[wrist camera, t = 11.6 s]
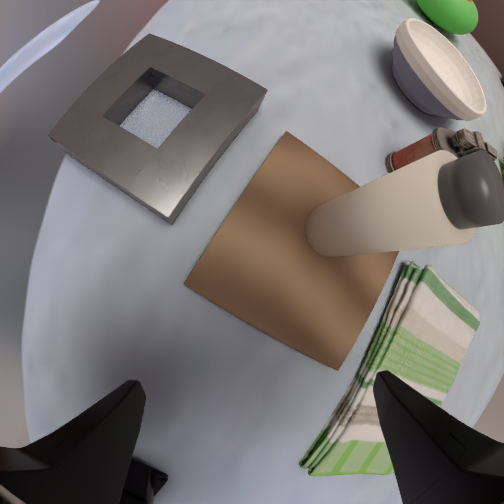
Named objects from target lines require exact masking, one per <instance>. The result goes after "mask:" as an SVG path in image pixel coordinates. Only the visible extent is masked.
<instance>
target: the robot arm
mask: <svg viewBox="0 0 504 504" xmlns="http://www.w3.org/2000/svg"><path fill="white" fill-rule="evenodd" d="M373 394H374V399H375V403H376V408H377V413H378V418H379V423H380V427H381V430H382V433H383V436H384V439H385V442H386V446H387V449H388V452H389V455H390V459H391V462H392V465H393V469H394V472H395V476H396V479H397V483H398V487H399V491H400V494H401V498H402V502H403V504H504V443H501V442H498V441H496V440H494V439H492V438H489V437H488V436H486V435H484V434H481V433H480V432H478V431H476V430H474V429H472V428H471V427H469V426H467V425H465V424H464V423H462V422H461V421H459V420H458V419H456V418H455V417H453V416H452V415H450V414H449V413H447V412H446V411H445V410H443V409H442V408H440V407H439V406H438V405H436V404H435V403H433V402H432V401H430V400H429V399H428V398H426V397H425V396H423V395H422V394H421V393H419V392H418V391H416V390H415V389H414V388H412V387H411V386H409V385H408V384H407V383H405V382H404V381H402V380H401V379H400V378H398V377H397V376H396V375H394V374H393V373H391V372H390V371H388V370H384V371H379V372H377V374H376V378H375V381H374V385H373ZM145 401H146V395H145V392H144V390H143V388H142V386H141V384H140V382H139V381H137V380H128V381H126V382H125V383H123V384H122V385H121V386H119V387H118V388H116V389H115V390H114V391H112V392H111V393H109V394H108V395H107V396H105V397H104V398H102V399H101V400H100V401H98V402H97V403H95V404H94V405H92V406H91V407H90V408H88V409H87V410H85V411H84V412H82V413H81V414H79V415H78V416H77V417H75V418H74V419H72V420H71V421H69V423H66V424H65V425H63V426H62V427H60V428H59V429H57V430H56V431H54V432H52V433H50V434H49V435H47V436H45V437H43V438H41V439H39V440H37V441H35V442H33V443H31V444H29V445H27V446H25V447H22V448H7V447H0V504H153V497H154V496H155V495H156V494H157V492H158V491H159V490H160V489H161V488H162V486H163V485H164V484H165V483H166V482H167V480H168V476H167V475H166V474H165V473H162V472H160V471H157V470H155V469H153V468H150V467H148V466H146V465H144V464H142V463H139V462H137V461H135V460H133V459H131V458H132V455H133V451H134V448H135V445H136V441H137V438H138V435H139V431H140V427H141V422H142V417H143V412H144V406H145ZM162 477H164V478H162Z"/></svg>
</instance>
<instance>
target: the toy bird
mask: <svg viewBox="0 0 504 504" xmlns="http://www.w3.org/2000/svg"><path fill="white" fill-rule="evenodd" d="M416 1H417V4H418V5H419V7H420V9H421V10H422V11H423V13H424V14H425V15H426V16H427V17H428V18H429V19H430V20H431V21H432V22H433V23H435V24H436V25H437V26H439V27H440V28H442V29H444V30H446V31H448V32H450V33H453V34H458V35H463V34H468V33H470V32H471V31H473V30H474V28H475V27H476V25H477V22H478V12H477V9H476V6H475V4H474V3H473V1H472V0H416Z"/></svg>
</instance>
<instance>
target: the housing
mask: <svg viewBox="0 0 504 504" xmlns="http://www.w3.org/2000/svg"><path fill="white" fill-rule="evenodd" d="M153 89H156V90H158V91H160V92H162V93H164V94H166V95H168V96H170V97H172V98H174V99H175V100H177V101H179V102H181V103H183V104H185V105H186V106H188V107H190V108H192V110H191V111H190V112H189V113H188V114H187V115H186V116H185V117H184V119H183V120H182V121H181V122H180V123H179V124H178V125H177V127H176V128H175V129H174V130H173V131H172V132H171V134H170V135H169V136H168V137H167V138H166V140H165V141H164V142H163V143H162V144H161V146H160V147H159V148H158V149H157V148H155V147H153V146H152V145H150V144H148V143H147V142H145V141H143V140H142V139H140V138H138V137H137V136H135V135H133V134H132V133H130V132H128V131H127V130H125V129H123V128H122V127H120V126H119V125H120V124H121V123H122V122H123V121H124V119H125V118H126V117H127V116H128V115H129V114H130V113H131V112H132V110H133V109H134V108H135V107H136V106H137V105H138V104H139V103H140V102H141V101H142V100H143V99H144V98H145V97H146V96H147V95H148V94H149V93H150V92H151V91H152V90H153ZM266 92H267V89H265V88H264V87H262V86H260V85H258V84H257V83H255V82H253V81H252V80H250V79H248V78H246V77H244V76H243V75H241V74H239V73H237V72H235V71H233V70H231V69H230V68H228V67H226V66H224V65H222V64H220V63H218V62H216V61H214V60H212V59H210V58H207V57H205V56H203V55H201V54H199V53H197V52H194V51H192V50H190V49H188V48H185V47H183V46H180V45H178V44H176V43H173V42H171V41H168V40H166V39H163V38H160V37H158V36H155V35H152V34H148V35H147V36H145V37H144V38H143V39H141V40H140V41H139V42H138V43H136V44H135V45H134V46H133V47H131V48H130V49H129V50H128V51H127V52H125V53H124V54H123V55H122V56H121V57H120V58H119V59H117V60H116V61H115V62H114V63H113V64H112V65H111V66H110V67H109V68H108V69H106V71H105V72H103V73H102V74H101V75H100V76H99V77H98V78H97V79H96V80H95V81H94V82H93V83H92V84H91V85H90V86H89V87H88V88H87V90H86V91H85V92H84V93H83V94H82V95H81V96H80V97H79V98H78V99H77V100H76V101H75V103H74V104H73V105H72V106H71V107H70V108H69V110H68V111H67V112H66V113H65V114H64V116H63V117H62V118H61V119H60V120H59V122H58V123H57V125H56V126H55V127H54V128H53V129H52V131H51V132H50V134H49V135H48V136H49V137H50V138H51V139H52V140H53V141H54V142H55V143H56V144H57V145H58V146H59V147H60V148H61V149H62V150H63V151H65V152H66V153H68V154H69V155H70V156H72V157H73V158H75V159H76V160H78V161H79V162H80V163H82V164H83V165H85V166H86V167H88V168H89V169H90V170H92V171H93V172H95V173H96V174H98V175H99V176H101V177H102V178H103V179H105V180H106V181H108V182H109V183H111V184H112V185H114V186H115V187H117V188H118V189H120V190H121V191H122V192H124V193H125V194H127V195H128V196H130V197H131V198H133V199H134V200H136V201H137V202H139V203H140V204H142V205H143V206H145V207H146V208H148V209H149V210H151V211H152V212H154V213H155V214H157V215H158V216H160V217H161V218H163V219H164V220H166V221H167V222H169V223H170V224H173V223H174V221H175V220H176V218H177V217H178V215H179V214H180V212H181V211H182V209H183V208H184V206H185V205H186V203H187V202H188V201H189V199H190V198H191V196H192V195H193V193H194V192H195V191H196V189H197V188H198V186H199V185H200V184H201V182H202V181H203V180H204V178H205V177H206V175H207V174H208V173H209V171H210V170H211V169H212V167H213V166H214V165H215V163H216V162H217V161H218V159H219V158H220V157H221V155H222V154H223V153H224V151H225V150H226V149H227V148H228V146H229V145H230V144H231V142H232V141H233V140H234V139H235V137H236V136H237V135H238V134H239V132H240V131H241V130H242V129H243V127H244V126H245V125H246V124H247V123H248V121H249V120H250V119H251V118H252V117H253V115H254V114H255V113H256V112H257V111H258V109H259V107H260V105H261V103H262V101H263V99H264V97H265V94H266Z"/></svg>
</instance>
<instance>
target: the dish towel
mask: <svg viewBox="0 0 504 504" xmlns="http://www.w3.org/2000/svg"><path fill="white" fill-rule="evenodd" d="M479 318H480V313H479V312H478V311H477V310H476V309H475V308H473V307H472V305H470V304H469V303H468V302H467V301H466V300H464V299H463V298H462V297H461V296H460V295H459V294H458V293H457V292H455V291H454V290H453V289H452V288H451V287H449V286H448V285H447V284H446V283H445V282H444V281H443V280H442V279H441V278H440V276H439V275H438V273H437V272H436V271H435V270H434V269H433V267H432V266H430V265H426V266H425V268H424V269H422V268H421V267H419V266H418V265H416V264H414V262H413V261H412V262H409V261H406V262H405V266H404V268H403V270H402V273H401V275H400V278H399V281H398V284H397V285H396V287H395V292H394V294H393V296H392V298H391V300H390V302H389V304H388V306H387V309H386V311H385V314H384V317H383V319H382V322H381V324H380V327H379V329H378V331H377V333H376V336H375V338H374V340H373V342H372V344H371V346H370V348H369V351H368V352H367V354H366V357H365V359H364V361H363V363H362V366H361V368H360V369H359V371H358V373H357V375H356V377H355V378H354V380H353V382H352V384H351V385H350V387H349V389H348V390H347V392H346V393H345V395H344V396H343V398H342V400H341V401H340V403H339V404H338V406H337V408H336V409H335V411H334V412H333V414H332V416H331V417H330V419H329V421H328V422H327V423H326V425H325V426H324V428H323V430H322V431H321V433H320V434H319V436H318V437H317V438H316V440H315V441H314V443H313V444H312V446H311V447H310V449H309V450H308V451H307V452H306V454H305V456H304V457H303V458H302V460H301V461H300V467H302V468H309V471H308V474H309V475H310V476H330V475H343V474H379V475H388V474H391V473H395V472H394V469H393V465H392V462H391V459H390V455H389V452H388V449H387V446H386V442H385V439H384V436H383V433H382V430H381V427H380V423H379V418H378V413H377V408H376V403H375V399H374V394H373V385H374V381H375V378H376V374H377V372H379V371H384V370H388V371H390V372H391V373H393V374H394V375H396V376H397V377H398V378H400V379H401V380H402V381H404V382H405V383H407V384H408V385H409V386H411V387H412V388H414V389H415V390H416V391H418V392H419V393H421V394H422V395H423V396H425V397H426V398H428V399H429V400H430V401H432V402H433V403H435V404H436V405H438V406H439V407H440V406H441V404H442V402H443V400H444V398H445V396H446V395H447V393H448V391H449V389H450V387H451V385H452V383H453V381H454V379H455V377H456V375H457V373H458V370H459V367H460V365H461V362H462V359H463V357H464V355H465V353H466V351H467V349H468V347H469V344H470V342H471V340H472V337H473V336H474V334H475V332H476V330H477V328H478V326H479V323H480V319H479Z"/></svg>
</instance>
